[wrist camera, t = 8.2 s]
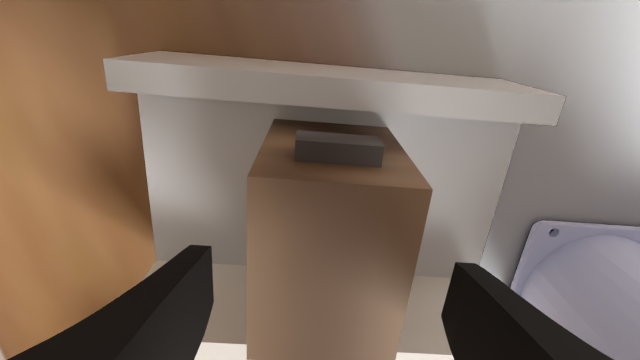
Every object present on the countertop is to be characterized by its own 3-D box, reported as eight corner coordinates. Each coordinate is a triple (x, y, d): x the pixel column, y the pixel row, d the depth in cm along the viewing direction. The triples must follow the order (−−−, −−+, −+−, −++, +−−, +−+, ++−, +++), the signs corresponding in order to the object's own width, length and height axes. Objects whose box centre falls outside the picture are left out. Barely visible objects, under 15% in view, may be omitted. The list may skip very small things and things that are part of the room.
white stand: (501, 79, 16) (626, 112, 10) (450, 272, 20) (513, 387, 14) (160, 50, 15) (47, 66, 9) (177, 255, 19) (109, 368, 13)
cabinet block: (389, 112, 14) (438, 166, 8) (367, 254, 17) (393, 367, 11) (274, 103, 14) (246, 152, 8) (270, 248, 16) (246, 359, 11)
